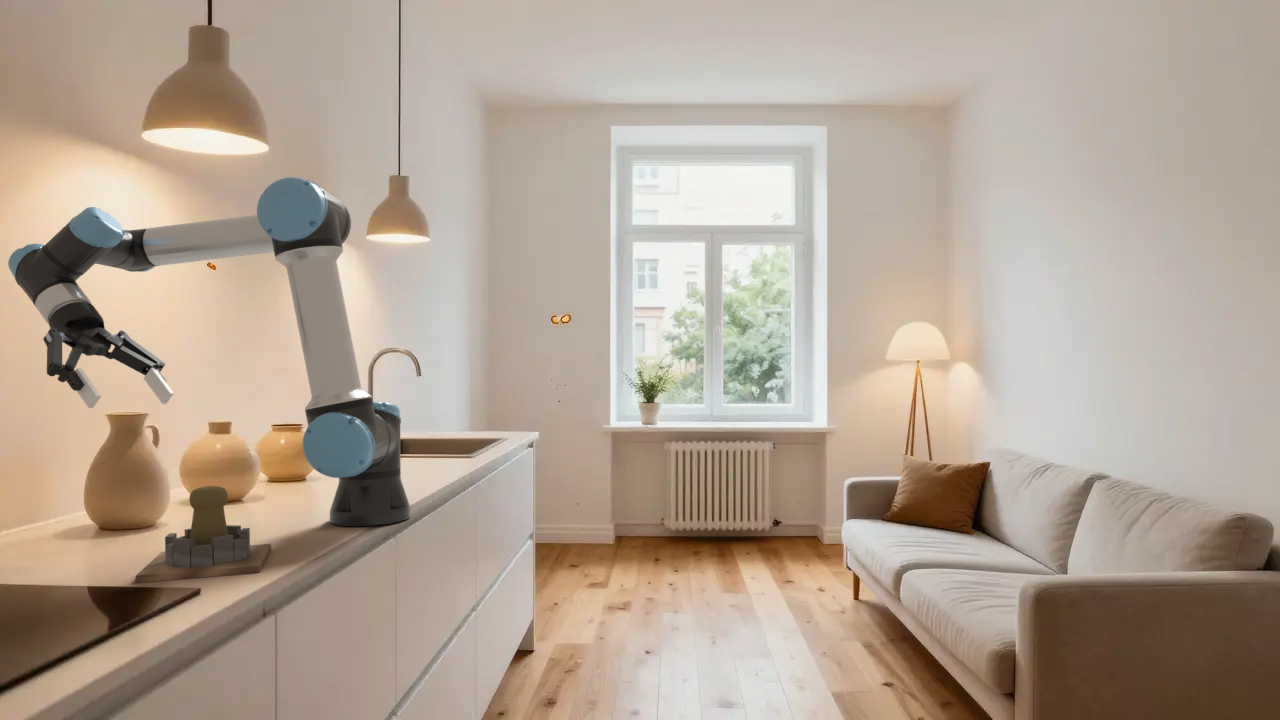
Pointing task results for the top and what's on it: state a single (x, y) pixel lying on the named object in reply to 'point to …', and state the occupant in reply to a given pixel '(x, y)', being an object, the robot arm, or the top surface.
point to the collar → (206, 557)
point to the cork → (208, 514)
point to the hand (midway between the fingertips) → (133, 400)
